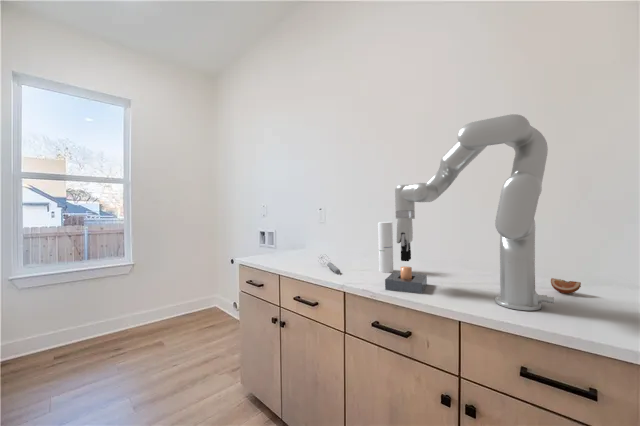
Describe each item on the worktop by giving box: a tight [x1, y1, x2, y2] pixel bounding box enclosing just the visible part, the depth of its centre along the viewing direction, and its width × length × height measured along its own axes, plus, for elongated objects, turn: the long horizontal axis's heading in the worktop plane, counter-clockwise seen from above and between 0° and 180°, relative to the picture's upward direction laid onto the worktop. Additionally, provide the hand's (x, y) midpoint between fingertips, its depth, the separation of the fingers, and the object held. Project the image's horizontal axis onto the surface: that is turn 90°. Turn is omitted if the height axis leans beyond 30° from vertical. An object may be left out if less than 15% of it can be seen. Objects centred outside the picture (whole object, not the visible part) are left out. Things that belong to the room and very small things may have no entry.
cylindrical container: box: [377, 221, 394, 274], centre depth 150 cm, size 7×7×25 cm
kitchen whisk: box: [317, 254, 341, 275], centre depth 160 cm, size 6×34×6 cm, turn 15°
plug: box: [400, 265, 413, 279], centre depth 120 cm, size 4×4×8 cm
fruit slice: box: [550, 277, 582, 295], centre depth 106 cm, size 8×7×5 cm
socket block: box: [384, 271, 428, 294], centre depth 120 cm, size 14×14×4 cm
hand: (406, 259), depth 120 cm, fingers open, 3 cm apart
